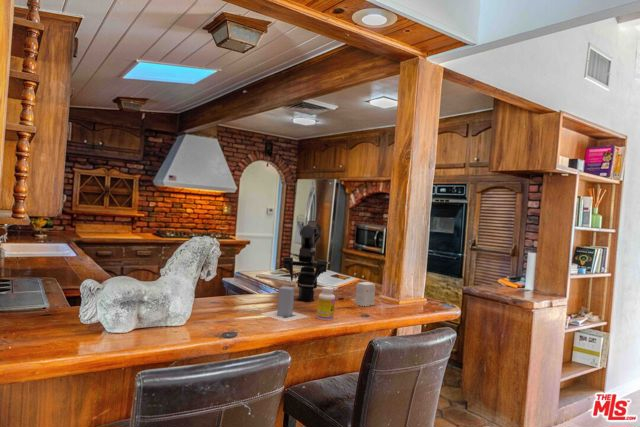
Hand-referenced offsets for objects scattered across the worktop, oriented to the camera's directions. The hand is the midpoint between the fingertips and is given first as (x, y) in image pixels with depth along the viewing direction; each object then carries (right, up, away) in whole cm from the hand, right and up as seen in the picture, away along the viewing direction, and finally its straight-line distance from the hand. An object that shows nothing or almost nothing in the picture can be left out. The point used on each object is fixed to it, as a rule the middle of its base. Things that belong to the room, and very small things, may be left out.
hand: (302, 281), depth 179 cm
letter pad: (-7, -13, -7) cm, 16 cm away
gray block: (-7, -12, -7) cm, 16 cm away
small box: (+29, -16, +27) cm, 42 cm away
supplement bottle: (+9, -14, -6) cm, 18 cm away
